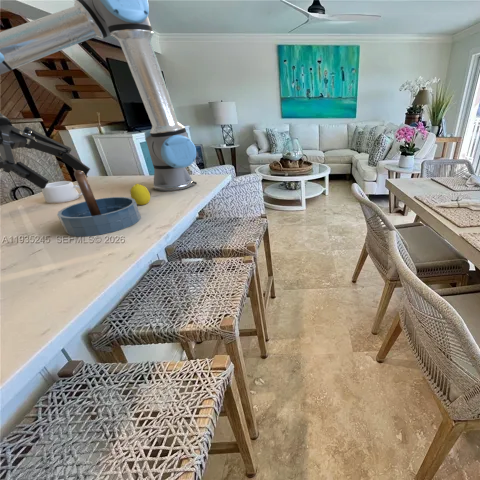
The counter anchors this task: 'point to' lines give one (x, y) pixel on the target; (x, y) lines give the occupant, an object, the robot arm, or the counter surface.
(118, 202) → the bowl
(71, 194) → the mug
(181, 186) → the robot arm
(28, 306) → the counter surface
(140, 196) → the lemon
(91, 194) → the brown wooden pestle
